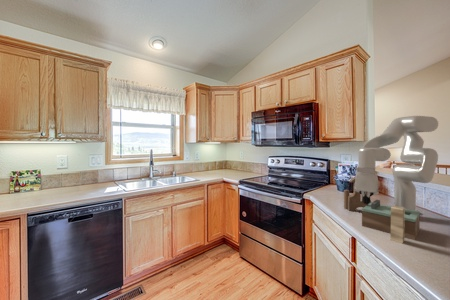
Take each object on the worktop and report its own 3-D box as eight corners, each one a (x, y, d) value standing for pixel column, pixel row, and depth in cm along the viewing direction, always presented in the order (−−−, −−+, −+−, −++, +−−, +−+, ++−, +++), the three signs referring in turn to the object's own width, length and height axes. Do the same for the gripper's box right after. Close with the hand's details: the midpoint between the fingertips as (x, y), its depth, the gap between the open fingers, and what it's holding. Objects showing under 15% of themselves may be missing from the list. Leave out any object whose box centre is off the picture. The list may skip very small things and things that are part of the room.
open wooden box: (370, 220, 112) (370, 205, 112) (419, 232, 96) (419, 214, 96) (361, 228, 102) (362, 211, 101) (414, 242, 86) (415, 223, 86)
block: (392, 239, 89) (393, 205, 89) (404, 243, 86) (404, 207, 86) (390, 242, 87) (390, 207, 86) (402, 246, 84) (402, 209, 83)
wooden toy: (369, 209, 130) (369, 172, 129) (373, 213, 123) (374, 174, 123) (343, 207, 134) (343, 172, 134) (346, 210, 128) (346, 173, 127)
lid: (371, 204, 112) (371, 197, 111) (419, 213, 96) (420, 205, 96) (362, 210, 101) (362, 202, 101) (415, 222, 86) (415, 213, 86)
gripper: (348, 170, 110) (348, 202, 110) (382, 172, 98) (381, 208, 98) (353, 168, 114) (353, 199, 115) (385, 171, 103) (385, 205, 103)
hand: (366, 203), depth 107 cm, fingers closed
